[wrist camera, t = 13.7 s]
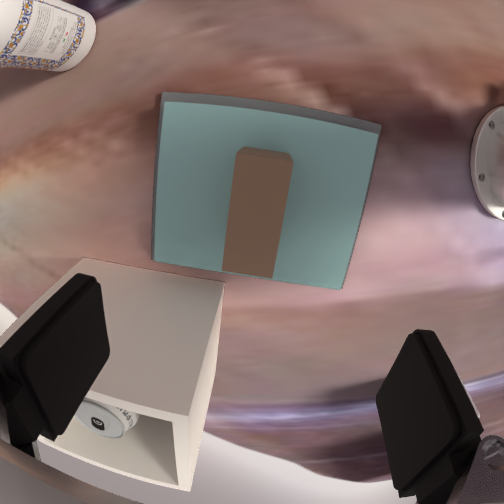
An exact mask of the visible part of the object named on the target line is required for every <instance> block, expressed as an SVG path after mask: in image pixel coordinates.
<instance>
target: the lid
mask: <svg viewBox="0 0 504 504" xmlns="http://www.w3.org/2000/svg"><path fill="white" fill-rule="evenodd" d="M377 139H378V134H375V133H371V132H368V131H364V130H360V129H356V128H351V127H347V126H343V125H338V124H334V123H329V122H324V121H320V120H315V119H309V118H304V117H299V116H293V115H287V114H281V113H275V112H268V111H262V110H254V109H247V108H239V107H230V106H220V105H210V104H197V103H183V102H165V103H164V111H163V120H162V130H161V140H160V151H159V163H158V177H157V193H156V214H155V249H154V261H156V262H162V263H168V264H174V265H180V266H186V267H192V268H198V269H204V270H210V271H216V272H222V273H229V274H235V275H241V276H248V277H254V278H261V279H267V280H274V281H281V282H288V283H294V284H301V285H308V286H315V287H322V288H329V289H337V290H340V289H341V286H342V282H343V279H344V276H345V272H346V269H347V265H348V262H349V258H350V255H351V251H352V247H353V244H354V240H355V236H356V232H357V228H358V225H359V221H360V217H361V213H362V208H363V204H364V200H365V196H366V192H367V187H368V183H369V178H370V173H371V169H372V164H373V159H374V154H375V149H376V144H377Z"/></svg>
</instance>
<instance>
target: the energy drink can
mask: <svg viewBox="0 0 504 504" xmlns="http://www.w3.org/2000/svg"><path fill="white" fill-rule="evenodd" d="M139 415H140V414H139V413H135V412H131V411H128V410H124V409H121V408H118V407H114V406H111V405H108V404H105V403H102V402H99V401H96V400H93V399H90V398H87V397H85V398H84V399H83V401H82V403H81V405H80V406H79V408H78V410H77V411H76V413H75V415H74V416H75V418H76V419H77V420H78V421H79V422H80V423H81V424H82V425H83V426H84V427H86V428H87V429H89V430H90V431H92V432H94V433H96V434H98V435H100V436H103V437H106V438H110V439H119V438H121V437H123V435H124V433H125V431H127V430H129V429H130V428H132V427H133V426H135V424H136V423H137V420H138V418H139Z"/></svg>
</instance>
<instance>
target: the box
mask: <svg viewBox="0 0 504 504" xmlns="http://www.w3.org/2000/svg"><path fill="white" fill-rule="evenodd" d="M77 273H82V274H86V275H90V276H94V277H95V278H96V280H97V282H99V283H100V285H101V290H102V298H103V306H104V314H105V321H106V327H107V333H108V339H109V345H110V355H109V358H108V360H107V362H106V363H105V365H104V367H103V368H102V370H101V372H100V373H99V375H98V376H97V378H96V380H95V381H94V383H93V385H92V386H91V388H90V389H89V391H88V393H87V394H86V396H85V397H87V398H90V399H93V400H96V401H99V402H102V403H105V404H108V405H111V406H114V407H118V408H121V409H124V410H128V411H131V412H135V413H139V414H140V415H139V418H138V420H137V423H136V424H135V426H133V427H132V428H130V429H129V430H127V431H125V433H124V435H123V437H121V438H119V439H110V438H106V437H103V436H100V435H98V434H96V433H94V432H92V431H90V430H89V429H87V428H86V427H84V426H83V425H82V424H81V423H80V422H79V421H78V420H77V419H76V418H75V416H73V418H72V420H71V422H70V423H69V425H68V427H67V429H66V430H65V432H64V433H63V434H62V435H58V436H57V438H56V440H55V442H53V441H51V440H49V439H47V438H45V437H43V436H41V435H39V437H38V438H37V439H38V440H39V441H40V442H42V443H45V444H47V445H49V446H51V447H53V448H55V449H57V450H59V451H62V452H64V453H66V454H69V455H71V456H73V457H76V458H78V459H81V460H83V461H86V462H88V463H91V464H93V465H96V466H99V467H102V468H104V469H107V470H110V471H113V472H116V473H119V474H122V475H125V476H129V477H132V478H135V479H139V480H143V481H146V482H149V483H153V484H157V485H161V486H166V487H170V488H174V489H178V490H183V491H188V492H190V490H191V485H192V480H193V476H194V471H195V466H196V461H197V457H198V452H199V447H200V442H201V437H202V433H203V428H204V423H205V419H206V414H207V409H208V405H209V400H210V395H211V391H212V386H213V381H214V377H215V371H216V361H217V351H218V341H219V332H220V323H221V313H222V304H223V295H224V286H225V282H220V281H213V280H207V279H201V278H195V277H189V276H183V275H177V274H172V273H166V272H160V271H155V270H149V269H143V268H138V267H132V266H127V265H122V264H116V263H111V262H106V261H101V260H96V259H90V258H85V257H84V258H83V259H82V260H80V261H79V262H78V263H77V264H76V265H75V266H74V267H72V268H71V269H70V270H69V271H68V272H67V273H66V274H64V275H63V276H62V277H61V278H60V279H59V280H58V281H57V282H56V283H54V284H53V285H52V286H51V287H50V288H49V289H48V290H47V291H46V292H45V293H44V294H43V295H42V296H40V297H39V298H38V299H37V300H36V301H35V302H34V303H33V304H32V305H31V306H30V307H29V308H28V309H27V310H26V311H25V312H24V313H23V314H22V315H21V316H20V317H19V318H18V319H17V320H16V321H15V322H14V323H13V324H12V325H11V326H10V327H9V328H8V329H7V330H6V331H5V332H4V333H3V334H2V335H1V336H0V348H1V347H2V345H3V344H4V343H5V342H6V341H7V340H8V339H9V338H10V337H11V336H12V335H13V334H14V333H15V332H16V331H17V330H18V329H19V328H20V327H21V326H22V325H23V324H24V323H25V322H26V321H27V320H28V319H29V318H30V317H31V316H32V315H33V314H34V313H35V312H36V311H37V310H38V309H39V308H40V307H41V306H42V305H43V304H44V303H45V302H46V301H47V300H48V299H49V298H50V297H51V296H52V295H53V294H54V293H56V292H57V291H58V290H59V289H60V288H61V287H62V286H63V285H64V284H65V283H66V282H67V281H69V280H70V279H71V278H72V277H73V276H74V275H75V274H77Z"/></svg>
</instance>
